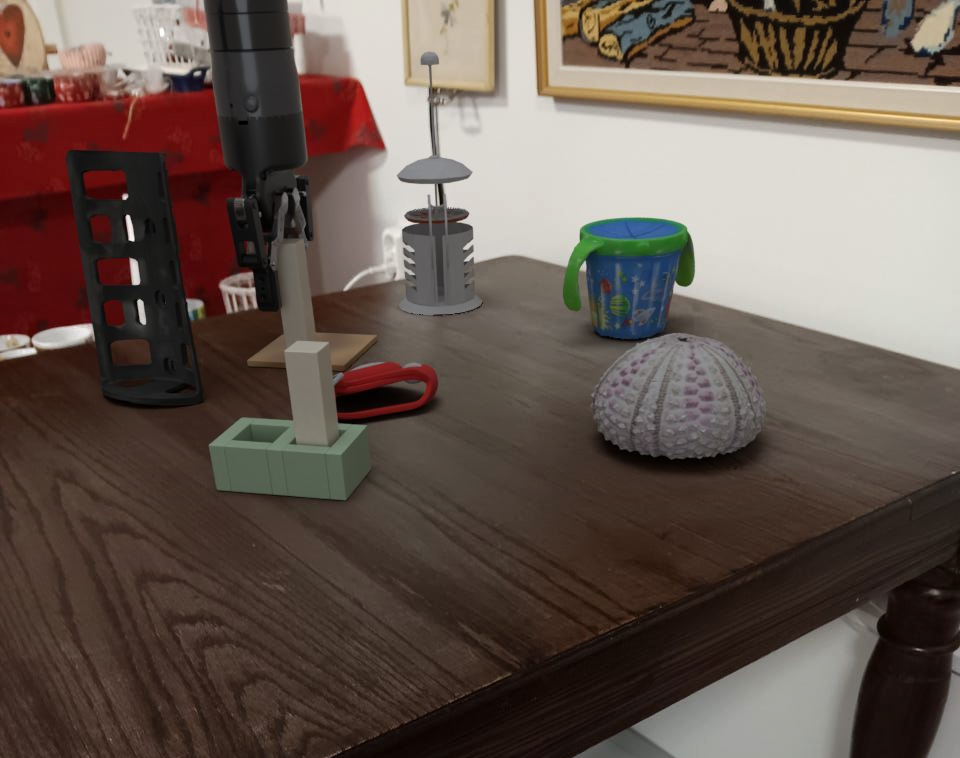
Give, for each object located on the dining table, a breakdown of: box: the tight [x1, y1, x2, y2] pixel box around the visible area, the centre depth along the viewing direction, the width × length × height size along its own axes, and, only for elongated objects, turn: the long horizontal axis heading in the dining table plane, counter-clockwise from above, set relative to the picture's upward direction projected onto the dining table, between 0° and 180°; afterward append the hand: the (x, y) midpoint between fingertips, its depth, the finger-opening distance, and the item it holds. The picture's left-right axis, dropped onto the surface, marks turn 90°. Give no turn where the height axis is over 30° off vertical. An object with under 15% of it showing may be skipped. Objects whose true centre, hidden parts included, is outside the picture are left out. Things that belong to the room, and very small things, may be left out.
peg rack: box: [208, 416, 372, 501], centre depth 72 cm, size 10×6×4 cm, turn 77°
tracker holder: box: [333, 361, 439, 421], centre depth 85 cm, size 12×4×10 cm
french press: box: [396, 51, 483, 316], centre depth 106 cm, size 10×12×25 cm
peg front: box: [284, 341, 340, 447], centre depth 70 cm, size 2×2×10 cm
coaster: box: [246, 332, 378, 372], centre depth 99 cm, size 10×10×1 cm
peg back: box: [275, 239, 317, 349], centre depth 97 cm, size 2×2×10 cm
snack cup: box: [562, 216, 696, 340], centre depth 100 cm, size 16×10×10 cm
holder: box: [65, 149, 205, 407], centre depth 86 cm, size 11×8×20 cm
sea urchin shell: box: [589, 332, 768, 461], centre depth 76 cm, size 13×14×8 cm
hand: (284, 300), depth 97 cm, fingers open, 6 cm apart
